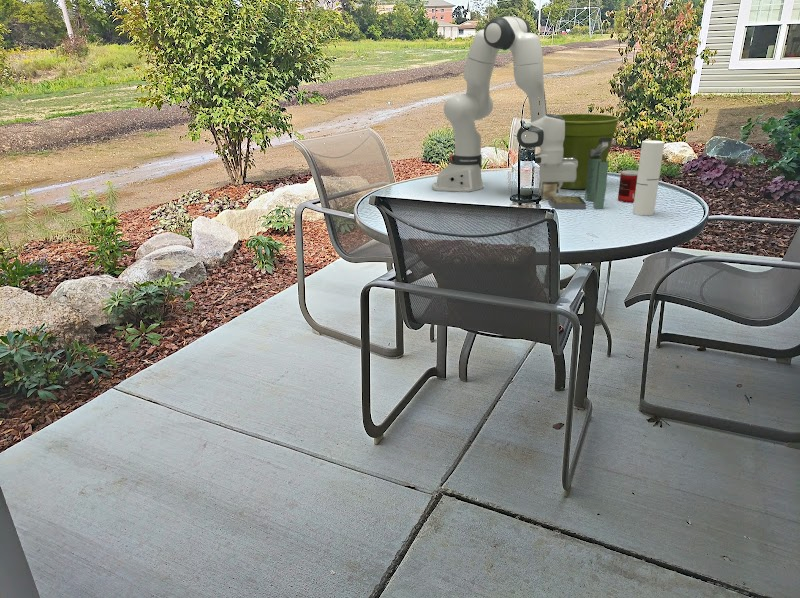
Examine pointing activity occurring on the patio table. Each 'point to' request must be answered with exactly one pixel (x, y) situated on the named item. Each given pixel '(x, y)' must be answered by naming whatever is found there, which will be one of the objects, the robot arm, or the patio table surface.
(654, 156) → the cylindrical container
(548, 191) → the block
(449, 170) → the robot arm
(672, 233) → the patio table surface
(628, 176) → the canned food
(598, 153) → the press lever
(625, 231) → the patio table surface
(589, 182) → the press base
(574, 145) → the plant pot
